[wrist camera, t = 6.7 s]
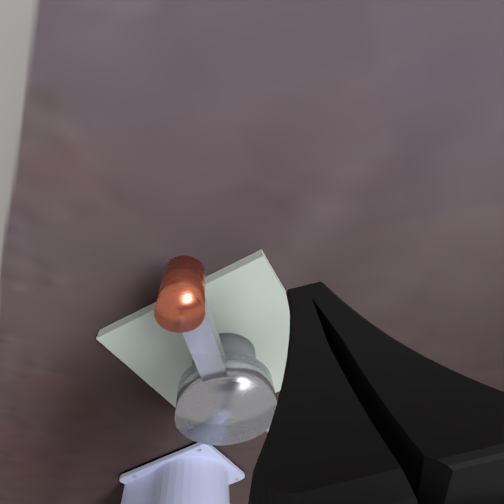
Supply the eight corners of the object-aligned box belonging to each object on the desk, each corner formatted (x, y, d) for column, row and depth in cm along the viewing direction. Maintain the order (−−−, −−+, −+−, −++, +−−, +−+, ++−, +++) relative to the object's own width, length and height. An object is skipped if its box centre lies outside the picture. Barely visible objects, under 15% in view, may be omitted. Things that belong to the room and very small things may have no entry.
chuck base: (212, 430, 28) (212, 467, 25) (99, 329, 20) (83, 366, 18) (336, 378, 26) (350, 412, 23) (261, 249, 19) (269, 277, 16)
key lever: (278, 403, 21) (287, 449, 19) (192, 422, 21) (190, 471, 19) (240, 242, 15) (247, 279, 12) (116, 269, 15) (96, 312, 12)
